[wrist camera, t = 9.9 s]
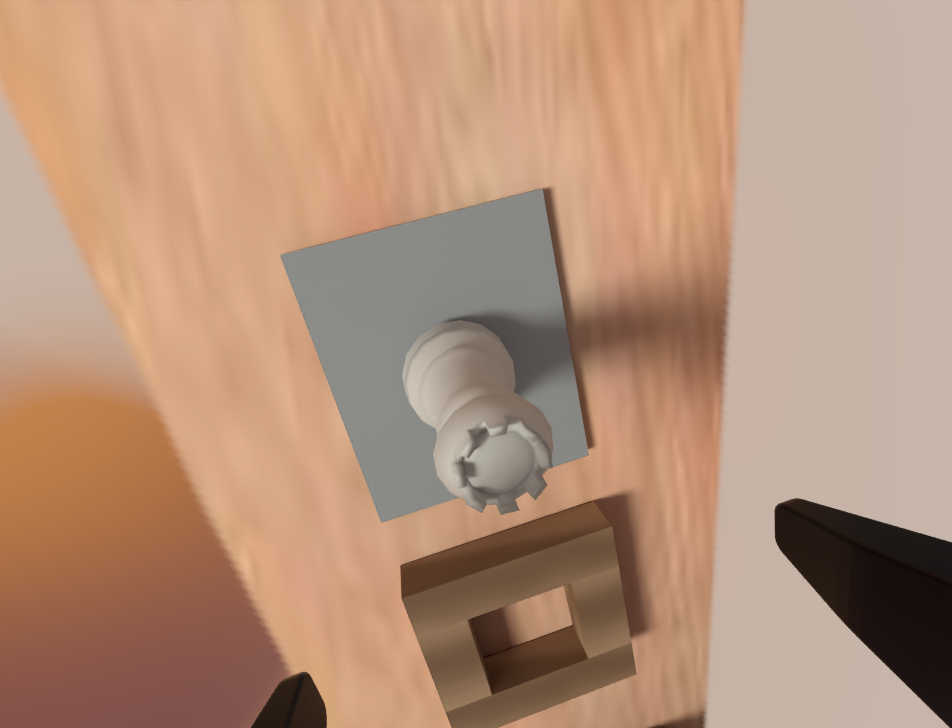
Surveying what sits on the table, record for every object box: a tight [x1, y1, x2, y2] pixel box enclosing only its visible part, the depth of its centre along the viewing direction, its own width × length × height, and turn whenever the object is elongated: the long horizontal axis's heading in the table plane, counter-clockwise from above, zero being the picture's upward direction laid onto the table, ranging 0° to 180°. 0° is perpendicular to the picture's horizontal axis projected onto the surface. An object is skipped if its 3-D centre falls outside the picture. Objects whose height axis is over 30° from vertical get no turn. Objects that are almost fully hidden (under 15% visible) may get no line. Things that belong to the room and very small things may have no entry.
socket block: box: [400, 501, 636, 728], centre depth 22 cm, size 10×10×2 cm
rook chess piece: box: [402, 320, 554, 515], centre depth 15 cm, size 4×4×8 cm
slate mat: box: [280, 189, 589, 523], centre depth 18 cm, size 12×10×1 cm
